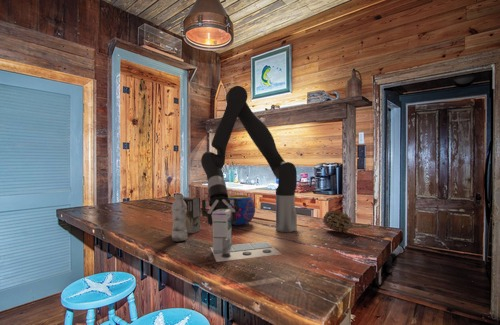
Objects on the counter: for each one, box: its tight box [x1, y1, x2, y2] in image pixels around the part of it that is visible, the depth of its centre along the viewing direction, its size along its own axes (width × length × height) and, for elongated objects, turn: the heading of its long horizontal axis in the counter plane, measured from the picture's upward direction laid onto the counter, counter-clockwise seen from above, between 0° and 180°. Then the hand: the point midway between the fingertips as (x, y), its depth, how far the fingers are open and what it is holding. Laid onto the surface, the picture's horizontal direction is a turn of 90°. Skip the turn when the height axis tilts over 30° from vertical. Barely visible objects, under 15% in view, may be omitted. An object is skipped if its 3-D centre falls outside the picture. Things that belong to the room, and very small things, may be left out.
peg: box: [222, 238, 230, 257], centre depth 90 cm, size 3×3×6 cm
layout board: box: [209, 241, 282, 263], centre depth 96 cm, size 23×15×1 cm, turn 107°
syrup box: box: [212, 209, 233, 251], centre depth 97 cm, size 6×6×14 cm
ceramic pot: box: [227, 194, 256, 226], centre depth 139 cm, size 18×18×15 cm
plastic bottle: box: [171, 193, 189, 243], centre depth 111 cm, size 6×7×20 cm
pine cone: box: [322, 209, 371, 234], centre depth 121 cm, size 22×10×10 cm, turn 55°
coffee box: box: [183, 196, 201, 234], centre depth 126 cm, size 9×6×16 cm
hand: (222, 223), depth 96 cm, fingers open, 8 cm apart
